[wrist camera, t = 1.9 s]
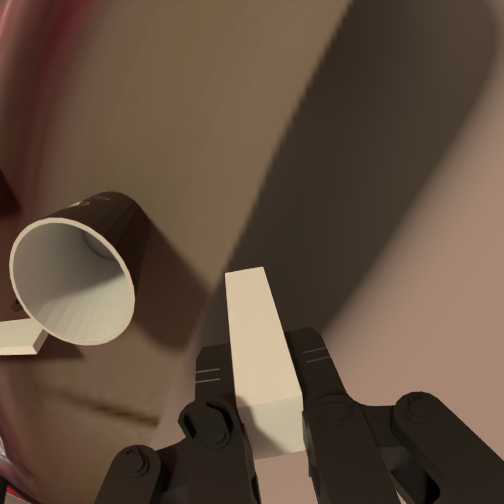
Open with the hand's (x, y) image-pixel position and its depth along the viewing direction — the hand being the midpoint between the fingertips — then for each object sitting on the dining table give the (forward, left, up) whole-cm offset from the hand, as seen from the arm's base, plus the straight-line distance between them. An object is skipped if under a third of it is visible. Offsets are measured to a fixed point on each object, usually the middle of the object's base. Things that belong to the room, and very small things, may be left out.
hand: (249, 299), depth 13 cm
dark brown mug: (+12, 0, -14) cm, 19 cm away
